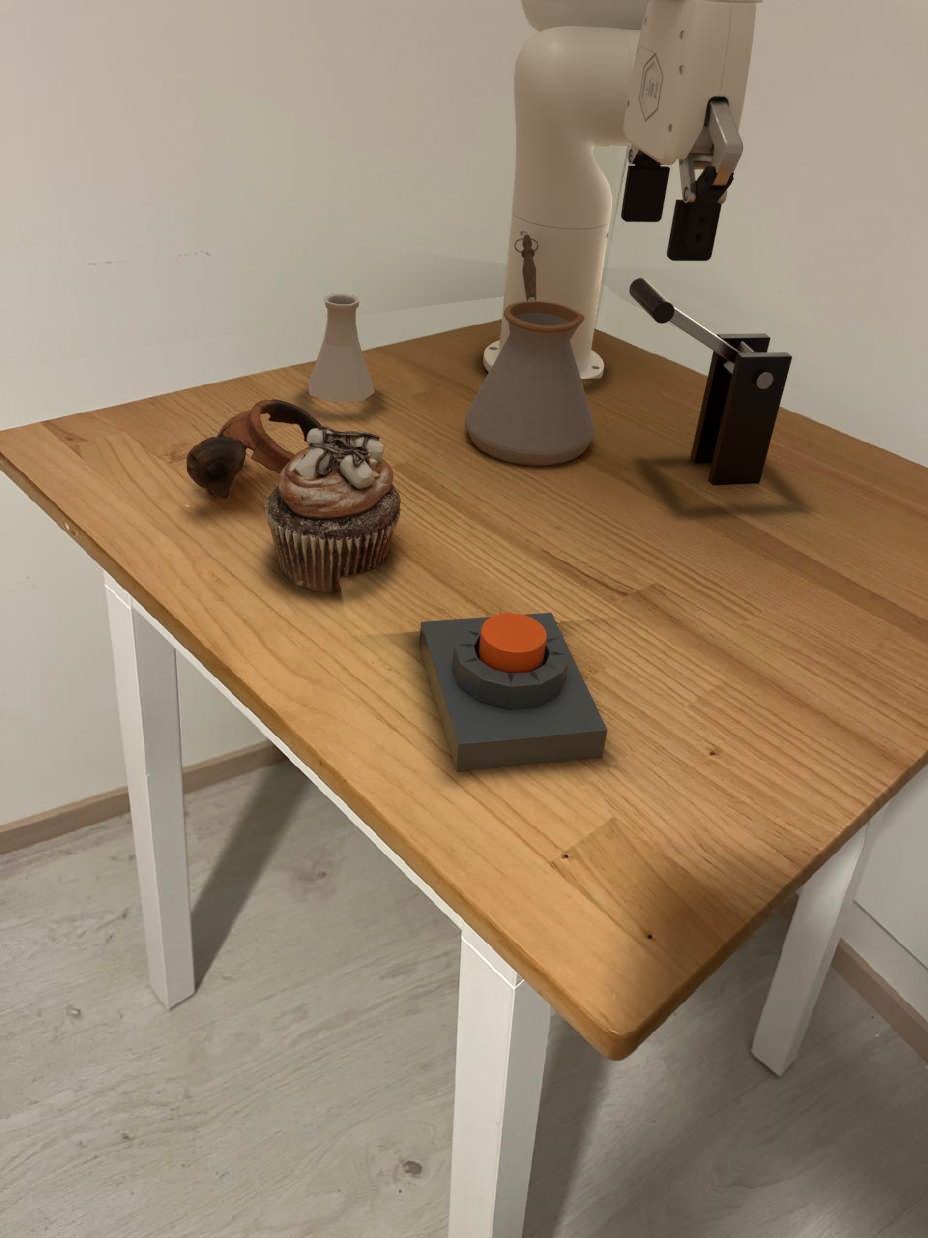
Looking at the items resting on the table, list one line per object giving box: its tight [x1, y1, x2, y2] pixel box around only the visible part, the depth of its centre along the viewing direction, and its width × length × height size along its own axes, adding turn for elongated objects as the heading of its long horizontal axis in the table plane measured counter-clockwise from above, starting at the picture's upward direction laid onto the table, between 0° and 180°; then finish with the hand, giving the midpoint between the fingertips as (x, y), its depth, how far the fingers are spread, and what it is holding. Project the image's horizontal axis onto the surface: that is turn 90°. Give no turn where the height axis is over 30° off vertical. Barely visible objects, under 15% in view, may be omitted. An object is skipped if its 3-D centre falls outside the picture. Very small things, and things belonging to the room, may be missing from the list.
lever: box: [628, 277, 759, 374], centre depth 85 cm, size 13×6×2 cm, turn 102°
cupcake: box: [263, 425, 402, 593], centre depth 77 cm, size 10×10×10 cm
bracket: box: [690, 332, 793, 486], centre depth 90 cm, size 11×9×13 cm
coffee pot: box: [464, 235, 595, 467], centre depth 96 cm, size 21×12×15 cm, turn 3°
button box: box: [418, 612, 608, 772], centre depth 67 cm, size 12×9×4 cm
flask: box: [307, 293, 376, 403], centre depth 99 cm, size 7×7×10 cm
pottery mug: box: [185, 398, 323, 500], centre depth 85 cm, size 12×10×8 cm
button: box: [479, 612, 547, 674], centre depth 65 cm, size 4×4×2 cm
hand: (663, 239), depth 79 cm, fingers open, 9 cm apart
